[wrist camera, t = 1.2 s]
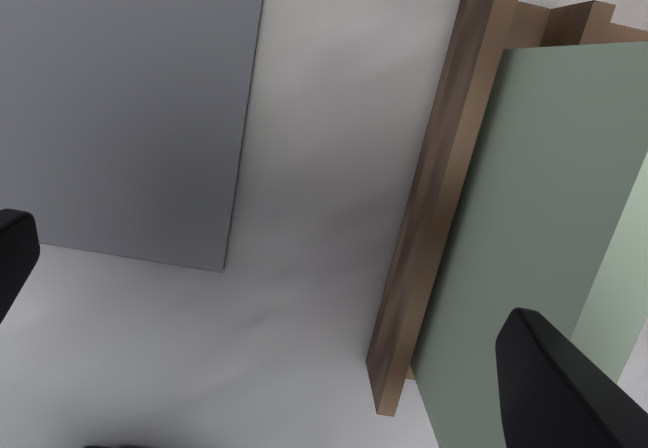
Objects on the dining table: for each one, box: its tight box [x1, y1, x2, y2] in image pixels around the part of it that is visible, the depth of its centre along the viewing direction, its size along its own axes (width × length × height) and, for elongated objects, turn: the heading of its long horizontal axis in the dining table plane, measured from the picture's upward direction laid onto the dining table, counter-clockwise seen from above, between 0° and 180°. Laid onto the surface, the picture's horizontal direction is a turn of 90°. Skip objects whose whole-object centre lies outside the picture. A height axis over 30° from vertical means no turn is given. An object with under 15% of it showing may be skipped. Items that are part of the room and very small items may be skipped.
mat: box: [0, 0, 263, 273], centre depth 20 cm, size 18×12×1 cm, turn 169°
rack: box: [366, 0, 648, 417], centre depth 21 cm, size 18×9×4 cm, turn 169°
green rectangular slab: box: [410, 41, 648, 448], centre depth 17 cm, size 14×2×11 cm, turn 169°
